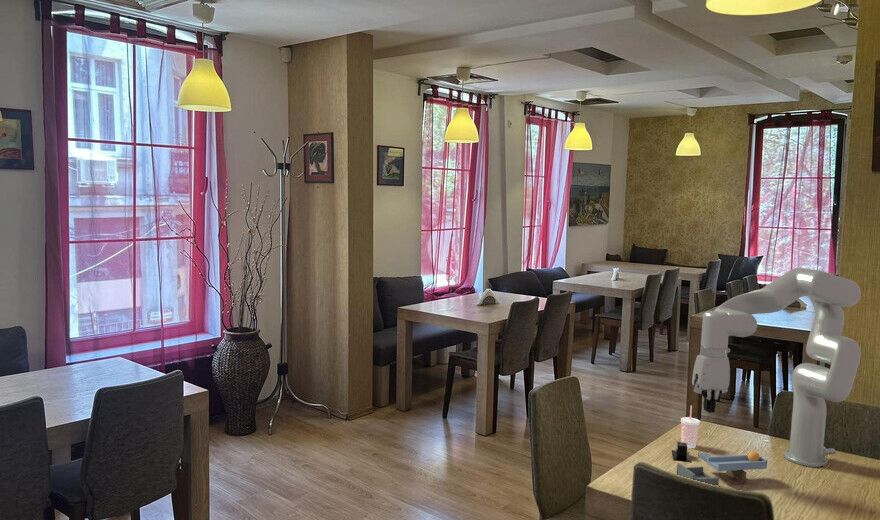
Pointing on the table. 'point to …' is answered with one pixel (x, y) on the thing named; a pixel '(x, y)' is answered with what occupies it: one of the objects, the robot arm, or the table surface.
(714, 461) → the lever
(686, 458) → the black boxy piece
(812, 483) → the table surface
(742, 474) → the fulcrum
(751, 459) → the ball
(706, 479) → the tray
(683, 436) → the beverage cup
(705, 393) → the robot arm
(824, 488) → the table surface
